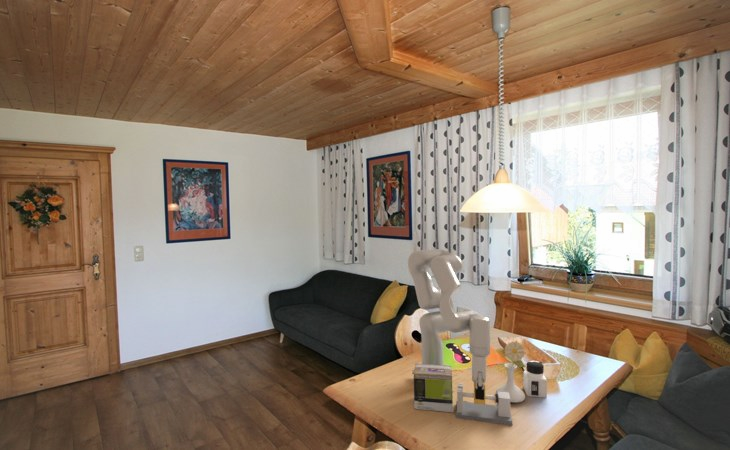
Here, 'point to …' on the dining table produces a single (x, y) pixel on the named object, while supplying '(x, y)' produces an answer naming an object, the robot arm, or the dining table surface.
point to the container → (535, 380)
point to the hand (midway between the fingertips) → (479, 395)
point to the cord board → (484, 408)
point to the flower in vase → (513, 353)
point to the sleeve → (478, 401)
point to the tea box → (433, 387)
